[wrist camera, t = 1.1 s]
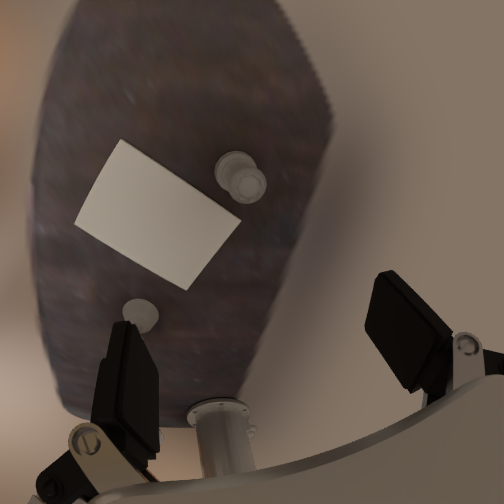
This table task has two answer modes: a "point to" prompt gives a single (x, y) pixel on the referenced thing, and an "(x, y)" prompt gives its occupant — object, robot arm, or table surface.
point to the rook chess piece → (240, 177)
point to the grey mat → (154, 216)
